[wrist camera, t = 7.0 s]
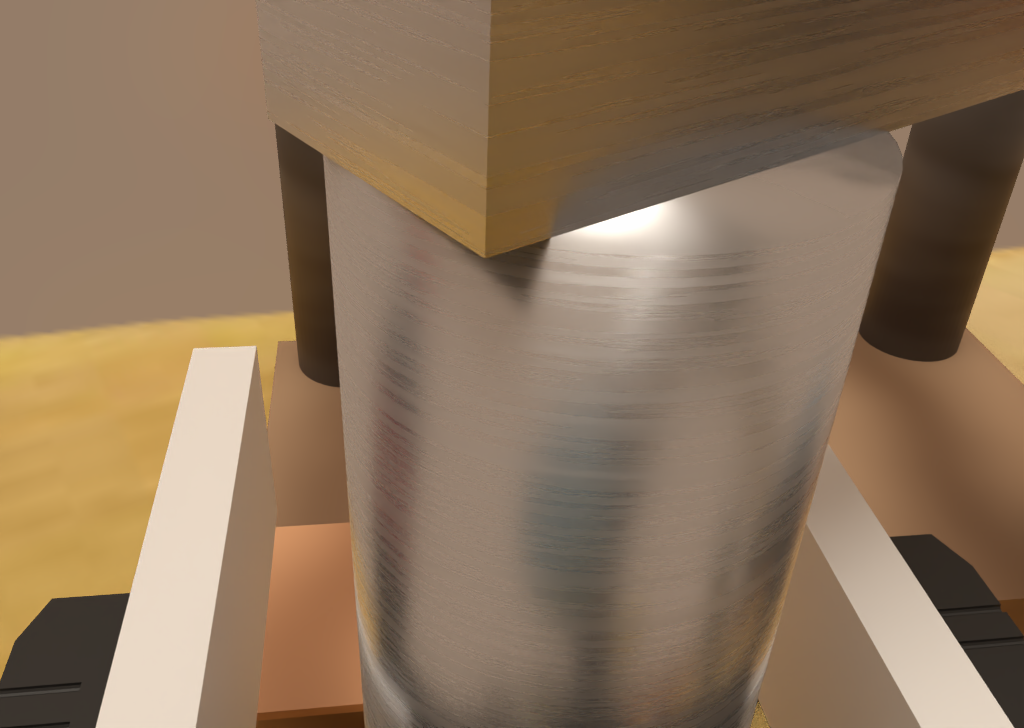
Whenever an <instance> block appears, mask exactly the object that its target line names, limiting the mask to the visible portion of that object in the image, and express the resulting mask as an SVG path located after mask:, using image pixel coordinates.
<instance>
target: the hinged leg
mask: <svg viewBox="0 0 1024 728" xmlns="http://www.w3.org/2000/svg"><path fill="white" fill-rule="evenodd" d="M256 7H257V16H258V27H259V36H260V46H261V55H262V65H263V75H264V84H265V94H266V103H267V114H268V119H269V120H271V121H272V122H274V123H275V124H277V125H278V126H280V127H282V128H283V129H285V130H286V131H288V132H289V133H291V134H292V135H294V136H295V137H297V138H299V139H300V140H302V141H303V142H305V143H306V144H308V145H309V146H311V147H313V148H314V149H316V150H317V151H319V152H320V153H322V154H323V160H324V174H325V188H326V201H327V215H328V229H329V243H330V256H331V270H332V284H333V297H334V311H335V325H336V339H337V352H338V366H339V380H340V394H341V407H342V421H343V435H344V449H345V462H346V476H347V490H348V503H349V517H350V531H351V545H352V558H353V572H354V586H355V600H356V613H357V627H358V641H359V655H360V668H361V682H362V696H363V709H364V723H365V728H750V726H751V723H752V719H753V715H754V712H755V708H756V704H757V701H758V697H759V693H760V690H761V686H762V682H763V679H764V675H765V671H766V668H767V664H768V660H769V657H770V653H771V650H772V646H773V642H774V639H775V635H776V631H777V628H778V624H779V620H780V617H781V613H782V609H783V606H784V602H785V598H786V595H787V591H788V587H789V584H790V580H791V576H792V573H793V569H794V565H795V562H796V558H797V554H798V551H799V547H800V543H801V540H802V536H803V532H804V529H805V525H806V522H807V518H808V514H809V511H810V507H811V503H812V500H813V496H814V492H815V489H816V485H817V481H818V478H819V474H820V470H821V467H822V463H823V459H824V456H825V452H826V448H827V445H828V441H829V437H830V434H831V430H832V426H833V423H834V419H835V415H836V412H837V408H838V404H839V401H840V397H841V393H842V390H843V386H844V383H845V379H846V375H847V372H848V368H849V364H850V361H851V357H852V353H853V350H854V346H855V342H856V339H857V335H858V331H859V328H860V324H861V320H862V317H863V313H864V309H865V306H866V302H867V298H868V295H869V291H870V287H871V284H872V280H873V276H874V273H875V269H876V265H877V262H878V258H879V254H880V251H881V247H882V244H883V240H884V236H885V233H886V229H887V225H888V222H889V218H890V214H891V211H892V207H893V203H894V200H895V196H896V192H897V189H898V185H899V181H900V178H901V174H902V170H903V158H902V154H901V151H900V149H899V146H898V144H897V142H896V141H895V139H894V138H893V137H892V135H891V134H890V133H889V132H890V131H892V130H896V129H899V128H902V127H905V126H908V125H912V124H915V123H918V122H922V121H925V120H928V119H931V118H934V117H938V116H941V115H944V114H947V113H950V112H953V111H957V110H960V109H963V108H966V107H969V106H973V105H976V104H979V103H982V102H985V101H988V100H992V99H995V98H998V97H1001V96H1004V95H1008V94H1011V93H1014V92H1017V91H1020V90H1024V0H256Z"/></svg>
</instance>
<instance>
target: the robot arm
mask: <svg viewBox="0 0 1024 728" xmlns="http://www.w3.org/2000/svg"><path fill="white" fill-rule="evenodd" d="M276 518H277V505H276V497H275V489H274V481H273V473H272V465H271V458H270V450H269V442H268V434H267V426H266V418H265V410H264V402H263V394H262V387H261V379H260V371H259V363H258V355H257V347H256V346H243V347H217V348H194V349H193V353H192V356H191V360H190V364H189V368H188V372H187V376H186V380H185V384H184V387H183V391H182V395H181V399H180V403H179V407H178V411H177V414H176V418H175V422H174V426H173V430H172V434H171V438H170V442H169V445H168V449H167V453H166V457H165V461H164V465H163V469H162V472H161V476H160V480H159V484H158V488H157V492H156V496H155V500H154V503H153V507H152V511H151V515H150V519H149V523H148V527H147V530H146V534H145V538H144V542H143V546H142V550H141V554H140V558H139V561H138V565H137V569H136V573H135V577H134V581H133V585H132V589H131V592H130V593H125V594H111V595H97V596H83V597H69V598H55V599H51V601H50V602H49V603H48V604H47V605H46V606H45V607H44V609H43V610H42V611H41V612H40V613H39V614H38V615H37V617H36V618H35V619H34V620H33V621H32V622H31V623H30V625H29V626H28V627H27V628H26V629H25V630H24V631H23V633H22V634H21V635H20V636H19V637H18V638H17V639H16V641H15V643H14V645H13V648H12V651H11V653H10V656H9V659H8V662H7V664H6V667H5V670H4V672H3V675H2V678H1V680H0V728H256V720H257V710H258V699H259V689H260V679H261V669H262V659H263V649H264V639H265V629H266V619H267V609H268V599H269V588H270V578H271V568H272V558H273V548H274V538H275V528H276ZM1000 606H1001V604H1000V602H999V601H998V600H997V598H996V597H995V596H994V594H993V593H992V592H991V590H990V589H989V587H988V586H987V585H986V583H985V582H984V581H983V579H982V578H981V577H980V575H979V574H978V572H977V571H976V570H975V568H974V567H973V566H972V565H971V564H970V563H968V562H967V561H966V560H964V559H963V558H962V557H961V556H959V555H958V554H957V553H955V552H954V551H953V550H951V549H950V548H949V547H948V546H946V545H945V544H944V543H942V542H941V541H940V540H938V539H937V538H936V537H935V536H933V535H932V534H923V535H909V536H894V537H889V536H888V534H887V533H886V531H885V530H884V528H883V527H882V525H881V524H880V522H879V521H878V519H877V518H876V516H875V515H874V513H873V512H872V510H871V508H870V507H869V505H868V504H867V502H866V501H865V499H864V498H863V496H862V495H861V493H860V492H859V490H858V489H857V487H856V486H855V484H854V483H853V481H852V479H851V478H850V476H849V475H848V473H847V472H846V470H845V469H844V467H843V466H842V464H841V463H840V461H839V460H838V458H837V457H836V455H835V454H834V452H833V451H832V449H831V447H830V446H829V444H828V445H827V448H826V452H825V456H824V459H823V463H822V467H821V470H820V474H819V478H818V481H817V485H816V489H815V492H814V496H813V500H812V503H811V507H810V511H809V514H808V518H807V522H806V525H805V529H804V532H803V536H802V540H801V543H800V547H799V551H798V554H797V558H796V562H795V565H794V569H793V573H792V576H791V580H790V584H789V587H788V591H787V595H786V598H785V602H784V606H783V609H782V613H781V617H780V620H779V624H778V628H777V631H776V635H775V639H774V642H773V646H772V650H771V653H770V657H769V660H768V664H767V668H766V671H765V675H764V679H763V682H762V686H761V690H760V693H759V697H758V700H759V702H760V705H761V707H762V710H763V712H764V715H765V717H766V719H767V722H768V724H769V727H770V728H1024V635H1023V634H1022V633H1021V631H1020V630H1019V628H1018V627H1017V626H1016V624H1015V623H1014V622H1013V620H1012V619H1011V618H1010V616H1009V615H1008V613H1007V612H1002V611H1001V607H1000Z"/></svg>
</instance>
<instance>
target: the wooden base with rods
mask: <svg viewBox="0 0 1024 728" xmlns="http://www.w3.org/2000/svg"><path fill="white" fill-rule="evenodd" d="M275 129H276V139H277V148H278V159H279V168H280V178H281V189H282V199H283V209H284V219H285V229H286V239H287V250H288V260H289V269H290V280H291V289H292V300H293V310H294V320H295V330H296V340H297V341H280V342H278V348H277V356H276V364H275V372H274V380H273V388H272V396H271V404H270V412H269V421H268V429H267V434H268V442H269V450H270V458H271V465H272V473H273V481H274V489H275V497H276V505H277V518H276V528H275V538H274V548H273V558H272V568H271V578H270V588H269V599H268V609H267V619H266V629H265V639H264V649H263V659H262V669H261V679H260V689H259V699H258V710H257V720H256V728H365V723H364V709H363V696H362V682H361V668H360V655H359V641H358V627H357V613H356V600H355V586H354V572H353V558H352V545H351V531H350V517H349V503H348V490H347V476H346V462H345V449H344V435H343V421H342V407H341V394H340V380H339V366H338V352H337V339H336V325H335V311H334V297H333V284H332V270H331V256H330V243H329V229H328V215H327V201H326V188H325V174H324V160H323V154H322V153H320V152H319V151H317V150H316V149H314V148H313V147H311V146H309V145H308V144H306V143H305V142H303V141H302V140H300V139H299V138H297V137H295V136H294V135H292V134H291V133H289V132H288V131H286V130H285V129H283V128H282V127H280V126H278V125H277V124H275ZM1023 158H1024V90H1020V91H1017V92H1014V93H1011V94H1008V95H1004V96H1001V97H998V98H995V99H992V100H988V101H985V102H982V103H979V104H976V105H973V106H969V107H966V108H963V109H960V110H957V111H953V112H950V113H947V114H944V115H941V116H938V117H934V118H931V119H928V120H925V121H922V122H918V123H915V124H912V128H911V131H910V135H909V139H908V143H907V146H906V150H905V153H904V157H903V170H902V174H901V178H900V181H899V185H898V189H897V192H896V196H895V200H894V203H893V207H892V211H891V214H890V218H889V222H888V225H887V229H886V233H885V236H884V240H883V244H882V247H881V251H880V254H879V258H878V262H877V265H876V269H875V273H874V276H873V280H872V284H871V287H870V291H869V295H868V298H867V302H866V306H865V309H864V313H863V317H862V320H861V324H860V328H859V331H858V335H857V339H856V342H855V346H854V350H853V353H852V357H851V361H850V364H849V368H848V372H847V375H846V379H845V383H844V386H843V390H842V393H841V397H840V401H839V404H838V408H837V412H836V415H835V419H834V423H833V426H832V430H831V434H830V437H829V441H828V444H829V446H830V447H831V449H832V451H833V452H834V454H835V455H836V457H837V458H838V460H839V461H840V463H841V464H842V466H843V467H844V469H845V470H846V472H847V473H848V475H849V476H850V478H851V479H852V481H853V483H854V484H855V486H856V487H857V489H858V490H859V492H860V493H861V495H862V496H863V498H864V499H865V501H866V502H867V504H868V505H869V507H870V508H871V510H872V512H873V513H874V515H875V516H876V518H877V519H878V521H879V522H880V524H881V525H882V527H883V528H884V530H885V531H886V533H887V534H888V536H889V537H894V536H909V535H923V534H932V535H933V536H935V537H936V538H937V539H938V540H940V541H941V542H942V543H944V544H945V545H946V546H948V547H949V548H950V549H951V550H953V551H954V552H955V553H957V554H958V555H959V556H961V557H962V558H963V559H964V560H966V561H967V562H968V563H970V564H971V565H972V566H973V567H974V568H975V570H976V571H977V572H978V574H979V575H980V577H981V578H982V579H983V581H984V582H985V583H986V585H987V586H988V587H989V589H990V590H991V592H992V593H993V594H994V596H995V597H996V598H997V600H998V601H999V602H1000V604H1001V606H1000V607H1001V611H1002V612H1007V613H1008V615H1009V616H1010V618H1011V619H1012V620H1013V622H1014V623H1015V624H1016V626H1017V627H1018V628H1019V630H1020V631H1021V633H1022V634H1023V635H1024V385H1023V384H1022V383H1021V382H1020V381H1019V380H1018V379H1017V378H1016V377H1015V376H1014V375H1013V374H1012V373H1011V372H1010V371H1009V370H1008V369H1007V368H1006V367H1005V366H1004V365H1003V364H1002V363H1001V362H1000V361H999V360H998V359H997V358H996V357H995V356H994V355H993V354H992V353H991V352H990V351H989V350H988V349H987V348H986V347H985V346H984V345H983V344H982V343H981V342H980V341H979V340H978V339H977V338H976V337H975V336H974V335H973V334H972V333H971V332H970V331H969V330H968V329H967V328H966V325H967V322H968V319H969V316H970V313H971V310H972V307H973V304H974V301H975V298H976V296H977V293H978V290H979V287H980V284H981V281H982V278H983V275H984V272H985V269H986V266H987V263H988V261H989V258H990V255H991V252H992V249H993V246H994V243H995V240H996V237H997V234H998V231H999V228H1000V225H1001V223H1002V220H1003V217H1004V214H1005V211H1006V208H1007V205H1008V202H1009V199H1010V197H1011V193H1012V191H1013V188H1014V185H1015V182H1016V179H1017V176H1018V173H1019V170H1020V167H1021V164H1022V161H1023Z"/></svg>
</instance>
